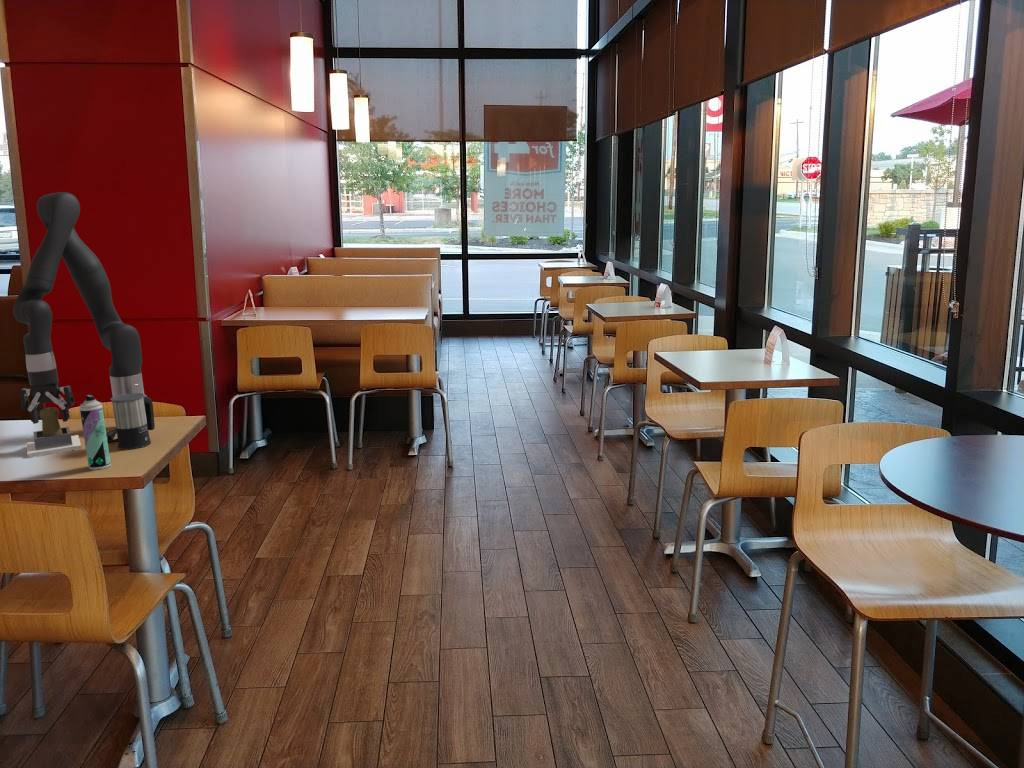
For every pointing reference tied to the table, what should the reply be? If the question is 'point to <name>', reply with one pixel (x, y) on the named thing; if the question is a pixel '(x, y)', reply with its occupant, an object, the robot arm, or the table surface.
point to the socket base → (32, 451)
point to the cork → (50, 421)
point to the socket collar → (52, 439)
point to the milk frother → (132, 421)
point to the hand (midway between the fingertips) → (50, 422)
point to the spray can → (94, 434)
